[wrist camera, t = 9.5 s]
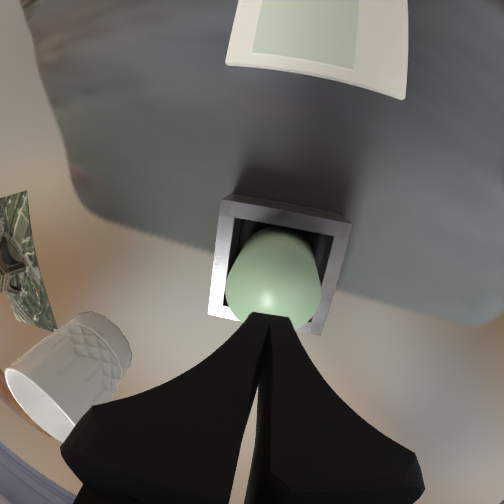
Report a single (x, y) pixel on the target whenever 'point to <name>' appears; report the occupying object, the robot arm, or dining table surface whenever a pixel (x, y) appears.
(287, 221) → the frame
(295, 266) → the button
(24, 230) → the eiffel tower figurine
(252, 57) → the picture sheet
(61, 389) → the white cup
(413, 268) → the dining table surface
